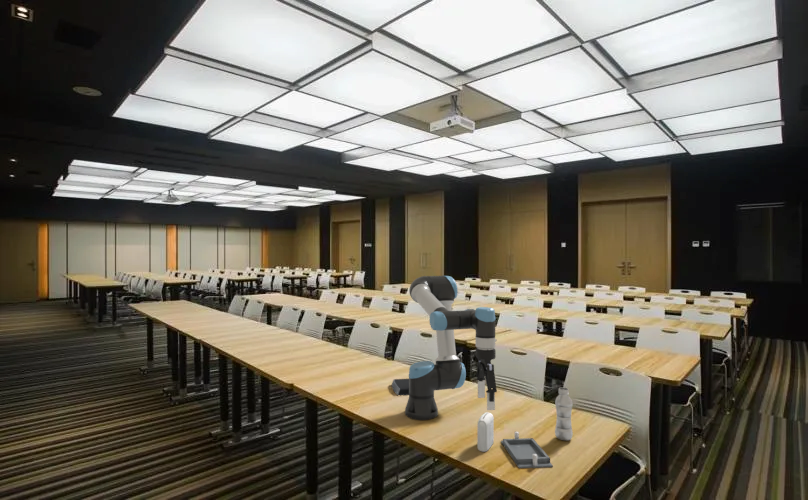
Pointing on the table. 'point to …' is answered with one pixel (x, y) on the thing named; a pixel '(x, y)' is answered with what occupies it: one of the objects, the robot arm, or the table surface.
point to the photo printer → (485, 432)
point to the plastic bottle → (563, 415)
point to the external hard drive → (401, 386)
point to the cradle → (526, 452)
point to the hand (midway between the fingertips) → (485, 403)
